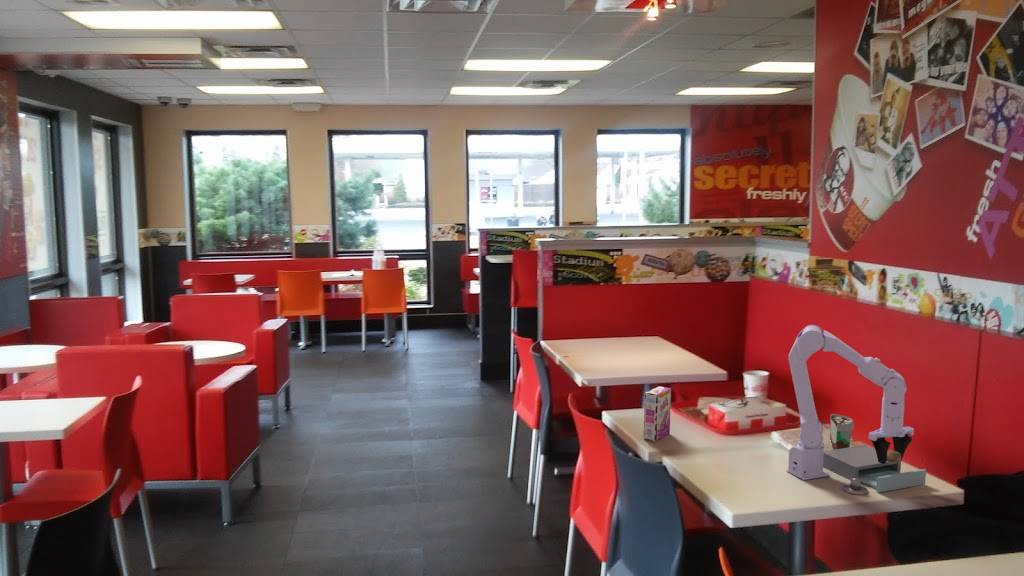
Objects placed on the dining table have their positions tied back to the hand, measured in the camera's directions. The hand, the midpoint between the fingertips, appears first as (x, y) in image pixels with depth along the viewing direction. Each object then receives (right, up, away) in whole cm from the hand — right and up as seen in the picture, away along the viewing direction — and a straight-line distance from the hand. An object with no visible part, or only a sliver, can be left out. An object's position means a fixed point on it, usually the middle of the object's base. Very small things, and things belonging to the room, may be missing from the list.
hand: (889, 461), depth 229 cm
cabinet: (-4, -5, +11) cm, 13 cm away
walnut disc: (0, +1, 0) cm, 1 cm away
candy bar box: (-59, -1, +43) cm, 73 cm away
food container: (-2, -3, +29) cm, 29 cm away
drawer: (-1, -6, +3) cm, 6 cm away
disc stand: (-12, -7, -4) cm, 15 cm away
